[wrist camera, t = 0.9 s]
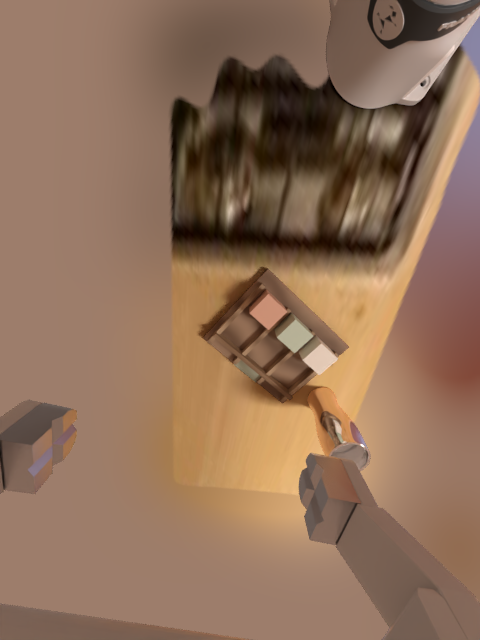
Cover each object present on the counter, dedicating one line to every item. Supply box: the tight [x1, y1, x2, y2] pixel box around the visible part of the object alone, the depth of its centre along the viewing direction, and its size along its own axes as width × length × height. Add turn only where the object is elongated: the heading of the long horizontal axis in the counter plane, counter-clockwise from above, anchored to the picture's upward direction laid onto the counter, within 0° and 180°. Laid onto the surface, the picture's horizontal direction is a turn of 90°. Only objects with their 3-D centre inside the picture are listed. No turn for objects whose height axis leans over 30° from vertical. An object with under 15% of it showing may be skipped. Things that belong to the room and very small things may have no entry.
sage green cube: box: [274, 313, 313, 353], centre depth 44 cm, size 4×4×4 cm
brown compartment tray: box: [203, 268, 349, 403], centre depth 46 cm, size 18×22×3 cm
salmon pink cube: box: [249, 289, 287, 330], centre depth 42 cm, size 4×4×4 cm
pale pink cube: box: [298, 335, 338, 375], centre depth 45 cm, size 4×4×4 cm
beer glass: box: [307, 387, 371, 471], centre depth 45 cm, size 7×7×15 cm
